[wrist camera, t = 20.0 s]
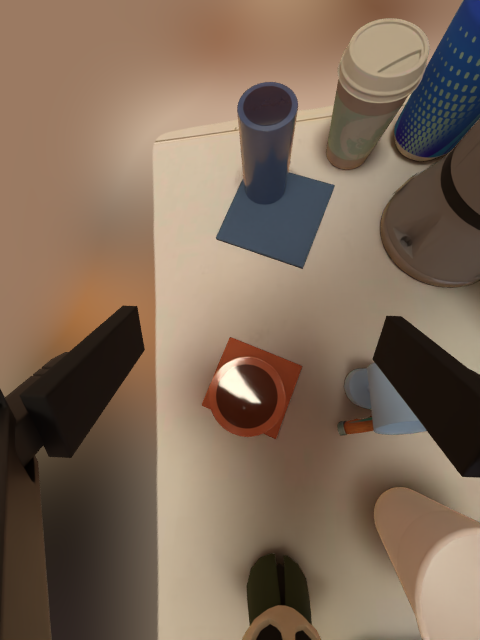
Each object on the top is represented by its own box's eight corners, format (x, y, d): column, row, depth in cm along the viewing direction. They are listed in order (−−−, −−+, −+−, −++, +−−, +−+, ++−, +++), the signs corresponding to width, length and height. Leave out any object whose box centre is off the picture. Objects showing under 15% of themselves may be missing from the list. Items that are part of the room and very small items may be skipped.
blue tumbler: (292, 174, 35) (306, 88, 25) (277, 210, 34) (285, 137, 24) (253, 163, 36) (250, 75, 25) (237, 197, 35) (227, 121, 24)
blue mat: (334, 187, 35) (334, 185, 34) (302, 268, 33) (303, 267, 32) (250, 163, 37) (250, 161, 36) (216, 239, 35) (215, 237, 34)
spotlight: (390, 422, 28) (382, 361, 30) (458, 449, 19) (441, 357, 20) (346, 422, 29) (339, 362, 30) (390, 450, 19) (378, 358, 20)
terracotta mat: (301, 366, 30) (302, 366, 30) (275, 438, 29) (275, 439, 29) (230, 337, 32) (229, 336, 31) (202, 404, 30) (201, 405, 30)
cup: (377, 448, 28) (450, 497, 17) (466, 500, 26) (608, 591, 16) (338, 533, 27) (390, 643, 16) (429, 594, 25) (556, 762, 14)
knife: (334, 436, 29) (350, 450, 24) (328, 419, 29) (342, 428, 24) (504, 387, 28) (555, 391, 23) (495, 370, 29) (543, 370, 24)
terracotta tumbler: (283, 372, 30) (296, 374, 19) (265, 420, 29) (268, 451, 18) (238, 353, 31) (226, 345, 20) (219, 400, 30) (196, 417, 19)
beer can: (376, 143, 36) (468, -33, 20) (413, 106, 36) (529, -92, 21) (427, 176, 34) (569, 12, 18) (464, 136, 35) (632, -54, 19)
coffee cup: (316, 178, 35) (344, 83, 24) (316, 128, 37) (343, 16, 25) (378, 178, 35) (439, 80, 23) (376, 127, 36) (432, 11, 24)
